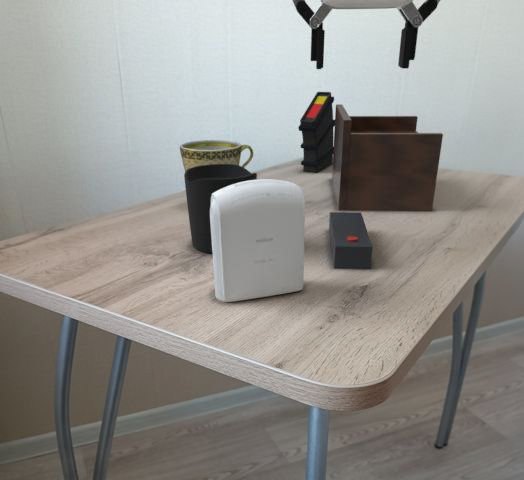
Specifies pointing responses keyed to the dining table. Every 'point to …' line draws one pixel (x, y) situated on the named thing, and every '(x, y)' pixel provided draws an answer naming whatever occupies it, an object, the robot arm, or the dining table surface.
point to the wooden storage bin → (383, 163)
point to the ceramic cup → (212, 153)
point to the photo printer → (257, 239)
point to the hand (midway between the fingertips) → (361, 68)
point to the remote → (349, 241)
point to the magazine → (318, 133)
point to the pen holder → (208, 197)
